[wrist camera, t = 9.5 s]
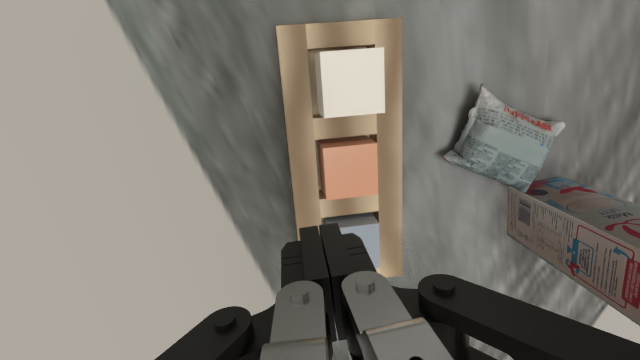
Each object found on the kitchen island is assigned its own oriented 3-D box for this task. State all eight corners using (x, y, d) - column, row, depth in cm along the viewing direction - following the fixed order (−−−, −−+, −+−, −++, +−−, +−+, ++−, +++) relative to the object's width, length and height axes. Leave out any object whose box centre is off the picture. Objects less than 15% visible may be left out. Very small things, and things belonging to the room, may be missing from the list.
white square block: (370, 50, 30) (384, 47, 26) (371, 108, 32) (385, 112, 28) (313, 54, 30) (319, 51, 26) (318, 112, 31) (324, 118, 27)
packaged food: (469, 82, 37) (496, 84, 33) (552, 121, 40) (589, 128, 35) (432, 155, 40) (453, 167, 35) (514, 188, 42) (544, 202, 37)
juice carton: (508, 186, 42) (743, 298, 21) (560, 176, 42) (839, 277, 21) (507, 234, 44) (719, 381, 23) (556, 225, 44) (807, 360, 23)
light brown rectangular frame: (385, 24, 34) (402, 17, 30) (388, 253, 42) (402, 275, 38) (275, 32, 33) (276, 25, 29) (300, 265, 41) (303, 288, 37)
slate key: (368, 207, 37) (379, 223, 34) (369, 248, 39) (380, 267, 35) (323, 213, 37) (328, 229, 33) (326, 254, 38) (331, 274, 35)
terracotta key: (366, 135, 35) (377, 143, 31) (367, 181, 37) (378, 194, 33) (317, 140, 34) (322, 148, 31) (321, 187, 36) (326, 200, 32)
